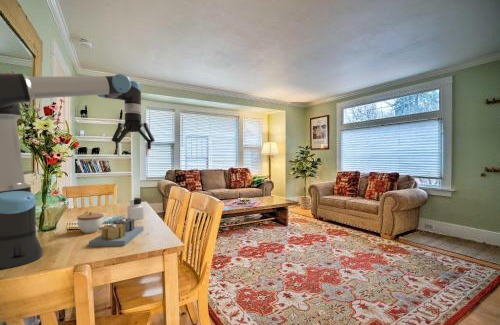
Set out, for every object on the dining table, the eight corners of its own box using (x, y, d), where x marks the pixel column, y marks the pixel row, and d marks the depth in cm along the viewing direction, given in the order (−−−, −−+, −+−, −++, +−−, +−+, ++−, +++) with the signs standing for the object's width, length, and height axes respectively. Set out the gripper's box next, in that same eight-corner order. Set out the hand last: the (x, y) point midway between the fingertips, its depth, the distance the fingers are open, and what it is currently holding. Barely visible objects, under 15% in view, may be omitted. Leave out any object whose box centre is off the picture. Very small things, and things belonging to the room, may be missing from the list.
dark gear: (110, 233, 115) (110, 223, 115) (115, 228, 124) (115, 218, 123) (131, 232, 117) (131, 222, 117) (135, 226, 126) (135, 217, 126)
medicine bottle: (140, 216, 156) (139, 197, 156) (143, 218, 150) (143, 198, 150) (127, 218, 151) (127, 198, 151) (130, 220, 146) (130, 199, 146)
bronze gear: (97, 240, 106) (97, 229, 105) (107, 233, 114) (107, 223, 114) (119, 239, 106) (119, 228, 106) (128, 233, 115) (128, 223, 115)
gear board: (88, 246, 104) (88, 229, 104) (114, 230, 126) (114, 216, 126) (124, 245, 105) (124, 228, 105) (143, 230, 127) (143, 216, 127)
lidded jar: (108, 228, 130) (108, 210, 130) (93, 234, 119) (93, 214, 119) (88, 227, 131) (88, 209, 131) (71, 234, 120) (71, 214, 120)
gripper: (103, 111, 124) (104, 155, 125) (156, 112, 126) (156, 155, 126) (111, 114, 132) (111, 155, 132) (160, 114, 133) (161, 155, 134)
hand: (133, 155), depth 129 cm, fingers open, 13 cm apart
